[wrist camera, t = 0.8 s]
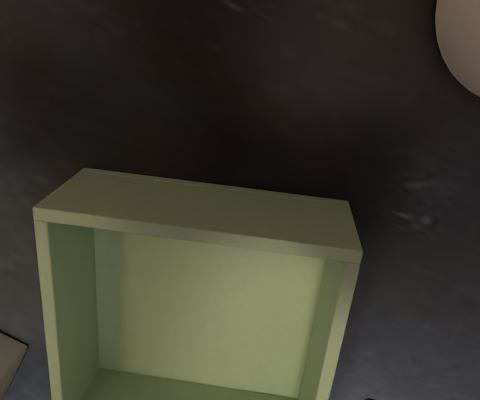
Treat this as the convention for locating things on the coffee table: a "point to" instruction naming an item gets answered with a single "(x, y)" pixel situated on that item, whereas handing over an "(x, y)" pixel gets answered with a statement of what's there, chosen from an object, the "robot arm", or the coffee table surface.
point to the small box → (9, 360)
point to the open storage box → (192, 289)
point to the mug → (460, 40)
